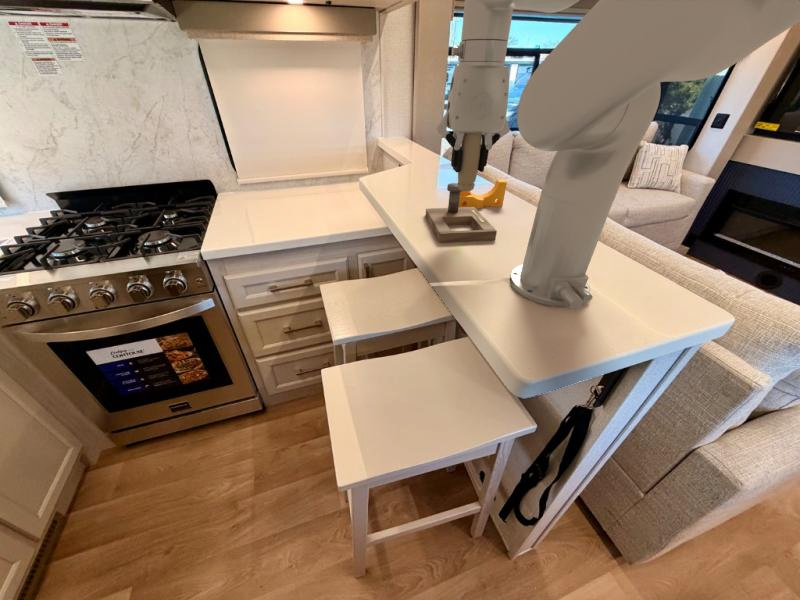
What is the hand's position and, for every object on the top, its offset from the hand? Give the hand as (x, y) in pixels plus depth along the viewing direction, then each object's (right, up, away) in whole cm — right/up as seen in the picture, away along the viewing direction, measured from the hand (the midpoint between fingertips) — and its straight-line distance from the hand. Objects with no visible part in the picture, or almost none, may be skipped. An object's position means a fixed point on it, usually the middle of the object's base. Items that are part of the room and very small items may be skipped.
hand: (468, 169), depth 65 cm
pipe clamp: (+8, -1, +22) cm, 23 cm away
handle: (0, -3, +2) cm, 4 cm away
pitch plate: (0, -9, +9) cm, 13 cm away
